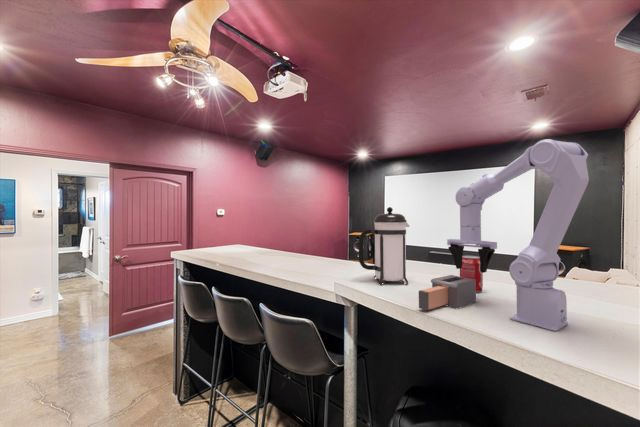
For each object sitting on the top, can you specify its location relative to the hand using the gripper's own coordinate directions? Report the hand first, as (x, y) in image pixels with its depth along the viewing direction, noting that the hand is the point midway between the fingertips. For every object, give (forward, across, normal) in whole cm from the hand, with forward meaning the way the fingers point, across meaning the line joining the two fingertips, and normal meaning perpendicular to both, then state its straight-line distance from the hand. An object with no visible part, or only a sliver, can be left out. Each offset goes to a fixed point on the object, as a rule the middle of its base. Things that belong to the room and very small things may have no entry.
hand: (470, 270), depth 88 cm
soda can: (+10, -6, +11) cm, 16 cm away
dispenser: (+9, -2, -6) cm, 11 cm away
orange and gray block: (+9, -2, -14) cm, 17 cm away
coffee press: (+10, -32, -3) cm, 34 cm away
